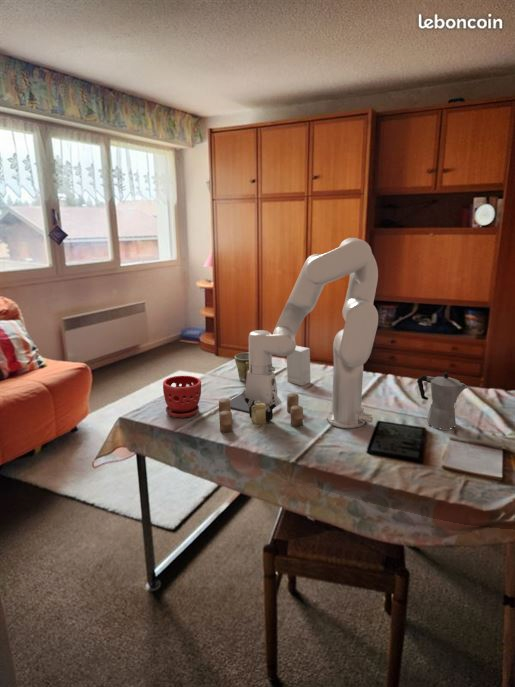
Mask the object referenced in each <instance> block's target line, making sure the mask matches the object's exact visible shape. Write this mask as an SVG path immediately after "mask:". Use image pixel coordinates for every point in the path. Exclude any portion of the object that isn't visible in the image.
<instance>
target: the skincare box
mask: <svg viewBox="0 0 515 687" xmlns="http://www.w3.org/2000/svg"><path fill="white" fill-rule="evenodd" d="M310 352H311V349H310V348H309V347H304V346H300V345H296V348H295V351H294V352H293V353H292V354H291V355H289V356H286V373H287V382H288V383H292V384H295V385H298V386H302V387H303V386H306V385H307V384H310V383H311V353H310Z"/></svg>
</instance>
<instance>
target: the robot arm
mask: <svg viewBox="0 0 515 687" xmlns="http://www.w3.org/2000/svg"><path fill="white" fill-rule="evenodd" d="M298 274H299V275H298V276H297V279H296V281H295V284H294V286H293V288H292V291H291V292H290V294H289V297H288V298H287V300H286V303H285V306H284V307H283V310H282V311H281V314H280V316H279V318H278V320H277V323H276V325H275V327H274V329H273V333H272V334H271V332H270V331H268V330H263V329H259V330H257V329H256V330H252V331H251V332H249V335H248V353H249V370H248V372H247V377H246V381H245V389H244V390H243V392H241V393H240V394H241V396H242V397H243V398H244V399H245V401H246V403H247V404H248V407H249V413H248V414H249V418H250V419H252V416H251V407H252V406H253V405H255V401H259V402H263V403H265V405H266V408H267V411H266V422H267V423H269V422H270V421H272V420H273V410H274V409H275V408H276V407H277V406H279V405H280V404H282V401H281V399H280V397H279V396H278V387H277V379H276V374H275V371H276V367H275V366H273V356H278V357H287V356H289V355H291V354H292V353H293V352H294V351H295V348H296V346H297V343H296V336H297V334H298V331H299V329H300V327H301V324H302V323H303V321H304V319H305V318H306V316H307V315H308V314H310V313H311V312H312V311H313V310H314V308H315V306H316V305H317V303H318V300H319V298H320V295H321V294H322V292H323V290H324V288H325V285H328V284H330V283H332V282H335V281H337V280H340V279H342V278H344V277H347V276H349V280H348V286H347V287H348V288H347V291H346V294H345V295H346V296H345V300H344V303H343V307H342V312H341V313H342V314H341V315H342V318H343V319H344V320H343V321H345V322H344V326H343V327H344V328H342V329H341V330H339V331H338V332H336V335H335V336H334V339H333V344H332V345H333V346H332V348H333V349H332V350H333V351H332V354H333V374H332V377H333V378H332V399H331V400H332V402H331V403H332V404H331V411H330V412H328V413H327V415H326V421H327V422H328V423H330V424H331V425H332V426H335V427H337V428H342V429H357V428H359V427H362V426H363V425H364V424H365V423H373V421H374V416H372V414H371V413H367V412H364V407H362V396H363V380H364V379H363V378H364V364H366V363H367V361H368V359H370V356H371V355H372V354H371V353H372V349H373V347H374V342H375V337H376V333H377V329H378V326H379V312H378V310H377V308H376V306H375V305H374V301H375V297H376V292H377V291H376V290H377V287H378V279H379V268H378V264H377V261H376V258H375V256H374V254H373V251H372V247H371V246H370V245H369V243H368V242H367V241H365V240H363V239H360V238H357V237H347V238H346V239H344V240H343V241H342V242H341V243H340V244H339V246H338V247H337V248H334V249H331V250H330V251H327V252H325V253H323V254H320V253H314V254H311V255H309V256H308V257H307V259H306V260H305V262H304V263H303V266H302V268H301V270H300V272H299V273H298ZM272 399H273V400H274V402H272ZM356 427H357V428H356Z"/></svg>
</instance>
